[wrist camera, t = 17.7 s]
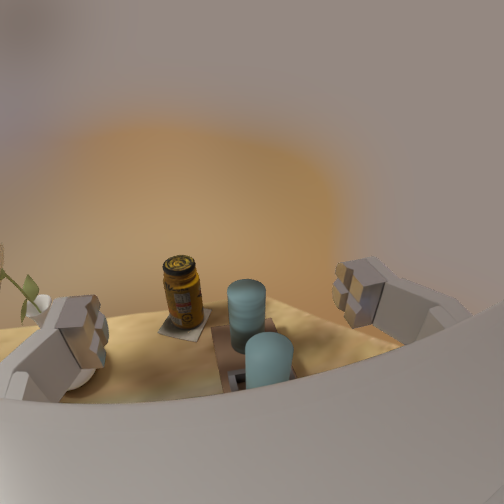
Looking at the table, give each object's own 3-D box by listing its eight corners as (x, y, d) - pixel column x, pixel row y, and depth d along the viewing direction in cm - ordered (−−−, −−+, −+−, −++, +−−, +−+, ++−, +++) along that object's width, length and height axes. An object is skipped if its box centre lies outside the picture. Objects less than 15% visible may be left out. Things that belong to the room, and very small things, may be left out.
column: (278, 419, 32) (285, 372, 27) (240, 407, 33) (237, 359, 28) (289, 388, 36) (298, 338, 31) (254, 379, 37) (255, 327, 32)
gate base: (312, 428, 33) (331, 373, 26) (236, 446, 31) (229, 396, 24) (270, 328, 50) (273, 266, 43) (212, 338, 48) (204, 276, 41)
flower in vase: (53, 345, 43) (-1, 220, 30) (105, 344, 45) (59, 207, 32) (36, 402, 32) (-48, 267, 19) (95, 406, 34) (15, 257, 21)
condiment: (212, 310, 54) (206, 253, 48) (196, 342, 47) (186, 283, 41) (176, 304, 55) (166, 249, 49) (157, 334, 48) (142, 277, 42)
